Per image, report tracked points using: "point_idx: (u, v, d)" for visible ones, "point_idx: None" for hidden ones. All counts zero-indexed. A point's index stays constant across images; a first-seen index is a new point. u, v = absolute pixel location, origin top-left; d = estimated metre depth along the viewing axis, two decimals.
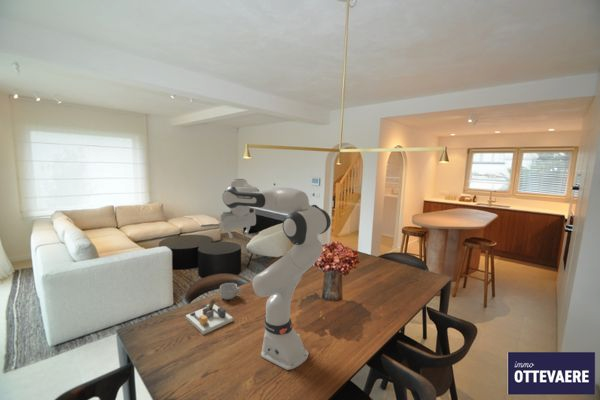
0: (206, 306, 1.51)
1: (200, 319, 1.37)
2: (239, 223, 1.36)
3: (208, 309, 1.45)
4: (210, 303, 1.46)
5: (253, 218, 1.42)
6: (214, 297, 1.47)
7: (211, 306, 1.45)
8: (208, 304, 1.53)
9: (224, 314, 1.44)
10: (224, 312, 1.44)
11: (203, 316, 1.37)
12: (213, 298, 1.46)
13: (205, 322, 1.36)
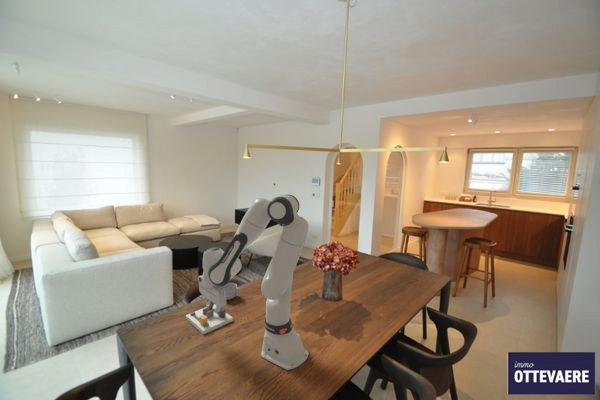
0: (206, 306, 1.51)
1: (200, 319, 1.37)
2: None
3: (208, 309, 1.45)
4: (210, 303, 1.46)
5: None
6: None
7: (211, 306, 1.45)
8: (208, 304, 1.53)
9: (224, 314, 1.44)
10: (224, 312, 1.44)
11: (203, 316, 1.37)
12: None
13: (205, 322, 1.36)
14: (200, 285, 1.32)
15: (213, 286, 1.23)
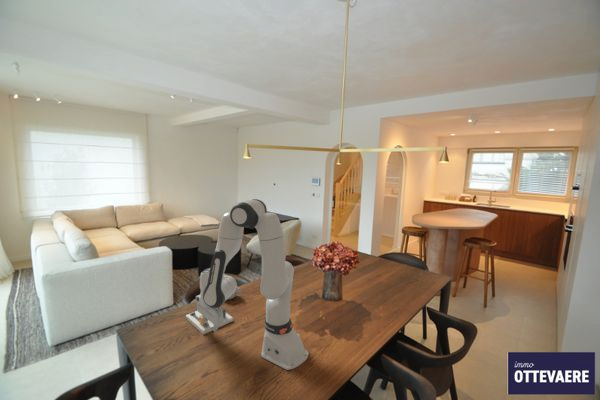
0: None
1: (200, 319, 1.37)
2: None
3: None
4: None
5: None
6: None
7: None
8: None
9: (224, 314, 1.44)
10: (224, 312, 1.44)
11: None
12: None
13: None
14: (198, 304, 1.35)
15: None
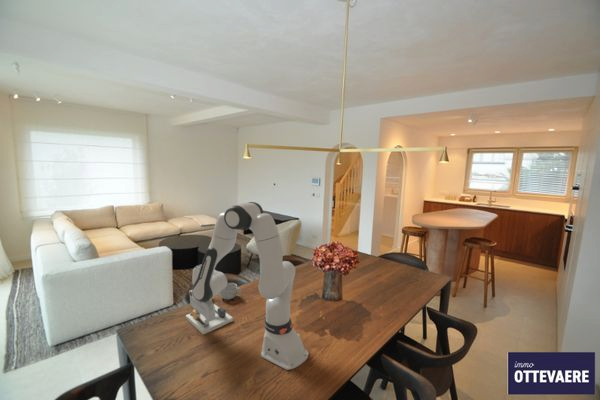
0: None
1: (193, 313, 1.42)
2: None
3: None
4: None
5: None
6: (214, 297, 1.47)
7: None
8: None
9: (224, 314, 1.44)
10: (224, 312, 1.44)
11: None
12: (213, 298, 1.46)
13: None
14: (191, 299, 1.40)
15: None
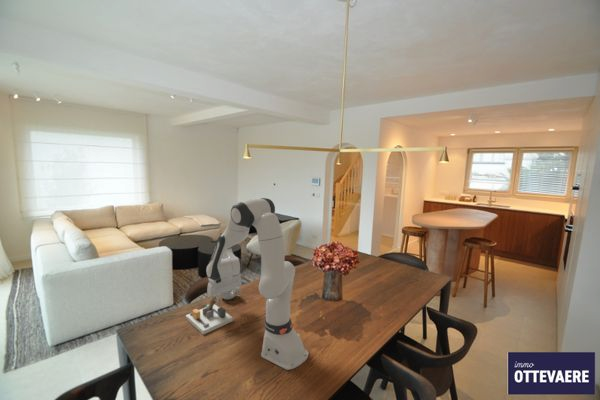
0: (206, 306, 1.51)
1: (193, 313, 1.42)
2: None
3: (208, 309, 1.45)
4: (210, 303, 1.46)
5: None
6: (214, 297, 1.47)
7: (211, 306, 1.45)
8: (208, 304, 1.53)
9: (224, 314, 1.44)
10: (224, 312, 1.44)
11: (196, 310, 1.43)
12: (213, 298, 1.46)
13: (198, 316, 1.42)
14: (213, 288, 1.44)
15: (232, 275, 1.52)
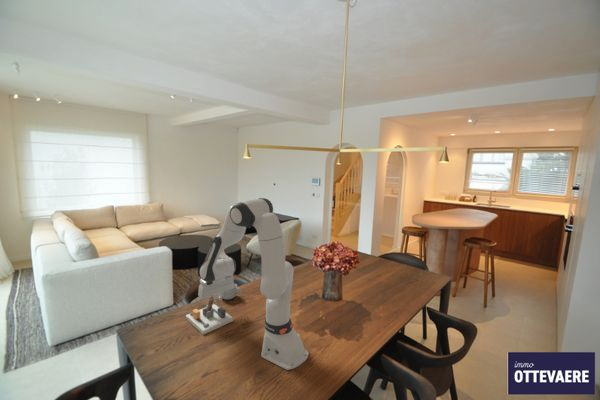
0: (206, 306, 1.51)
1: (193, 313, 1.42)
2: None
3: (207, 309, 1.45)
4: (208, 303, 1.45)
5: None
6: (211, 297, 1.45)
7: (210, 306, 1.45)
8: None
9: (224, 314, 1.44)
10: (224, 312, 1.44)
11: (196, 310, 1.43)
12: (211, 298, 1.45)
13: (198, 316, 1.42)
14: (204, 290, 1.40)
15: (225, 277, 1.49)
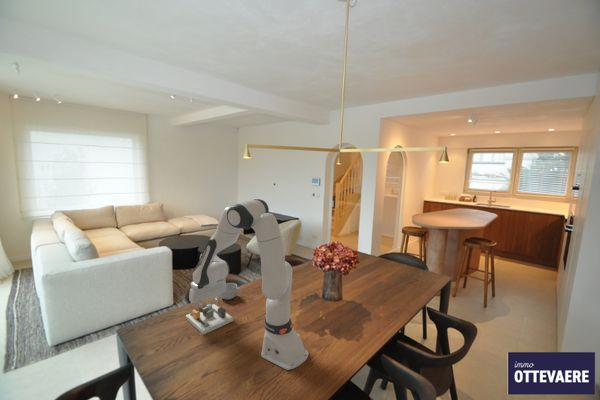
0: (206, 306, 1.51)
1: (193, 313, 1.42)
2: None
3: None
4: None
5: None
6: (195, 309, 1.39)
7: (203, 311, 1.42)
8: (208, 304, 1.53)
9: (224, 314, 1.44)
10: (224, 312, 1.44)
11: None
12: (196, 310, 1.39)
13: (198, 316, 1.42)
14: (195, 294, 1.37)
15: (216, 280, 1.45)
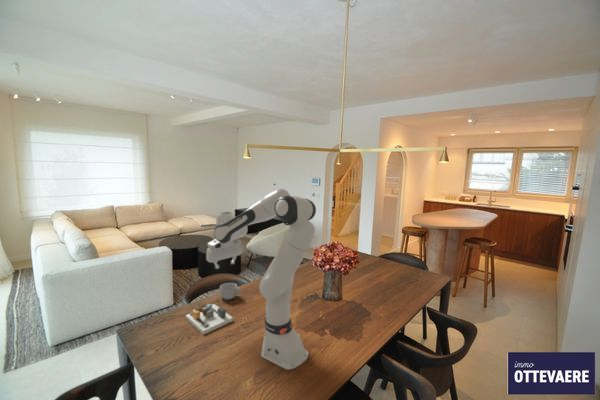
0: (206, 306, 1.51)
1: (193, 313, 1.42)
2: None
3: None
4: None
5: None
6: (195, 309, 1.39)
7: (203, 311, 1.42)
8: (208, 304, 1.53)
9: (224, 314, 1.44)
10: (224, 312, 1.44)
11: None
12: (196, 310, 1.39)
13: (198, 316, 1.42)
14: (213, 254, 1.37)
15: None
